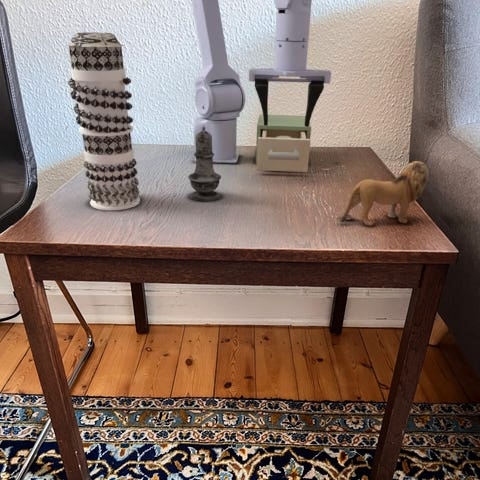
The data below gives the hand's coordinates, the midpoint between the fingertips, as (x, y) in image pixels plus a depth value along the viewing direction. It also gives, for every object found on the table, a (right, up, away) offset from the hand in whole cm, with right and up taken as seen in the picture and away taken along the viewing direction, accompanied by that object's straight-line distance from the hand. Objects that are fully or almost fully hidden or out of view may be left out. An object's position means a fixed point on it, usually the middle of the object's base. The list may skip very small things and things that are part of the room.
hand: (286, 125), depth 88 cm
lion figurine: (+14, -20, -11) cm, 27 cm away
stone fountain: (-15, -15, -3) cm, 21 cm away
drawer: (0, -4, +12) cm, 12 cm away
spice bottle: (0, -2, +12) cm, 12 cm away
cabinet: (+1, +2, +22) cm, 22 cm away
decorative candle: (-30, -16, -7) cm, 35 cm away
